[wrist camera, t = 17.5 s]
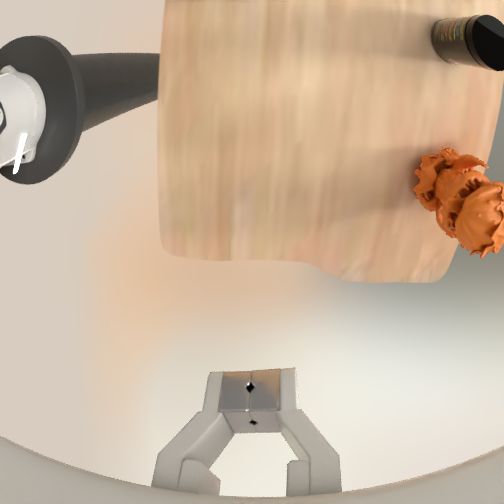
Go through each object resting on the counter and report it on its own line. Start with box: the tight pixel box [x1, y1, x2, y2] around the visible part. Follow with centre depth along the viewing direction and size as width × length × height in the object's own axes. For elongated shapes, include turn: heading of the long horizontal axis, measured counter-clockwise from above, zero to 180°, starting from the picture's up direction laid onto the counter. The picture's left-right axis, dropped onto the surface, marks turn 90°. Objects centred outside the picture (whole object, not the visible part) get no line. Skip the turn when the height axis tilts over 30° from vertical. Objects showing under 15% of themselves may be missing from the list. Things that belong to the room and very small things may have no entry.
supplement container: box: [432, 15, 504, 71], centre depth 24 cm, size 7×7×10 cm
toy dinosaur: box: [413, 146, 504, 259], centre depth 32 cm, size 11×11×18 cm
